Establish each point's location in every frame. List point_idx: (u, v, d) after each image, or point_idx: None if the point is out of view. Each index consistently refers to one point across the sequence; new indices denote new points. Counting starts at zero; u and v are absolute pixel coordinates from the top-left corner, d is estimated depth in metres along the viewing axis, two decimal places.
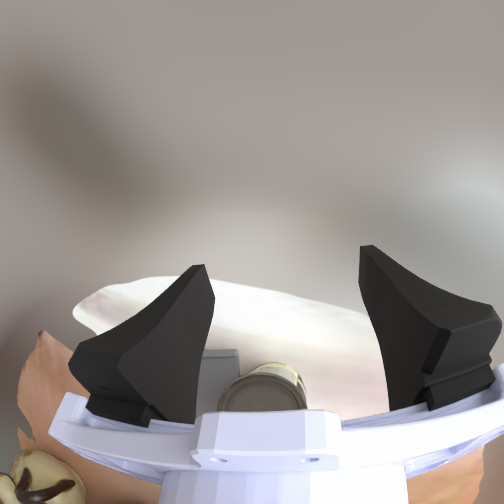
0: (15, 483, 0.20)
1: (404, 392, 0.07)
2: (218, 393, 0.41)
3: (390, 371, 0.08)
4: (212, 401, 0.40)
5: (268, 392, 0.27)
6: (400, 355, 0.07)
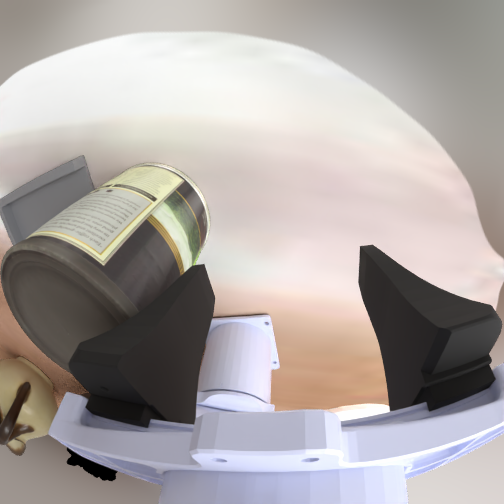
0: None
1: (404, 392, 0.07)
2: None
3: (390, 371, 0.08)
4: None
5: (50, 287, 0.10)
6: (400, 355, 0.07)
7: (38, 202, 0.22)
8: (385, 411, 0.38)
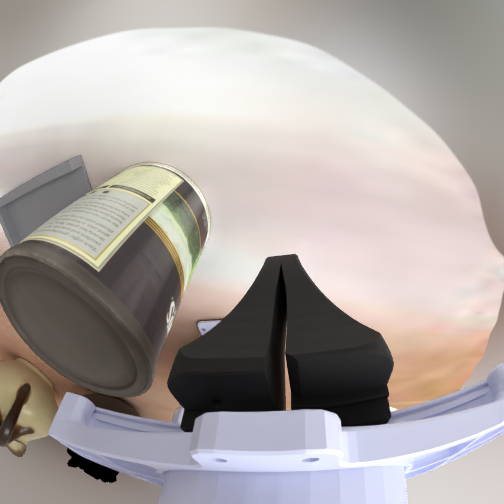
0: None
1: None
2: None
3: None
4: None
5: (45, 294, 0.09)
6: None
7: (35, 203, 0.22)
8: None
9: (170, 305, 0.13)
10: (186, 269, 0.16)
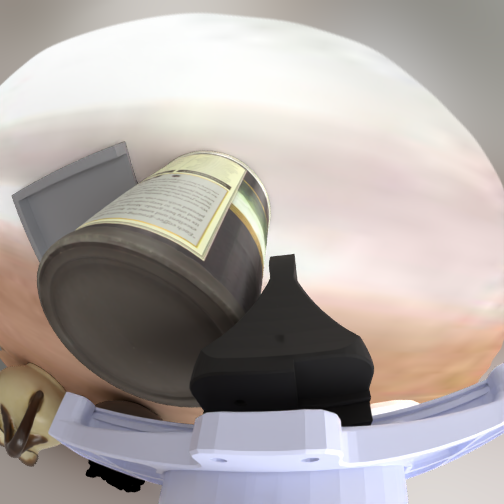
0: (3, 430, 0.26)
1: None
2: None
3: None
4: None
5: (119, 292, 0.09)
6: None
7: (64, 195, 0.22)
8: None
9: None
10: None
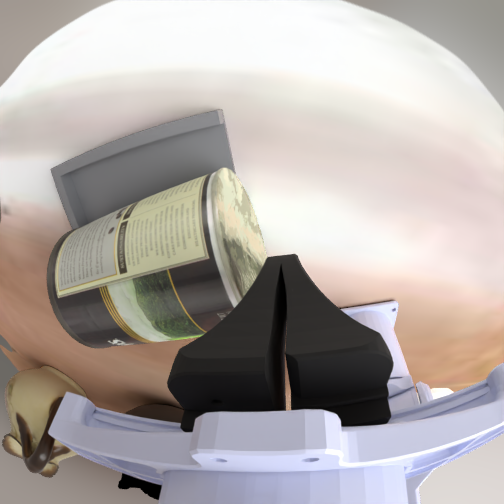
0: (20, 442, 0.24)
1: None
2: None
3: None
4: None
5: None
6: None
7: (127, 168, 0.20)
8: None
9: (112, 339, 0.16)
10: (149, 336, 0.15)
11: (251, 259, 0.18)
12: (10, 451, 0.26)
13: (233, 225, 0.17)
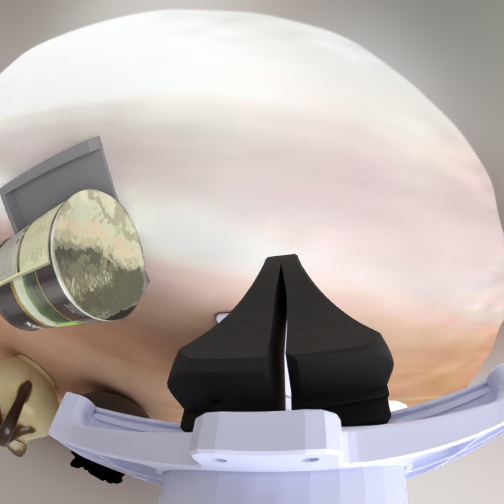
0: None
1: None
2: None
3: None
4: None
5: None
6: None
7: (45, 188, 0.21)
8: (397, 408, 0.37)
9: (26, 322, 0.17)
10: (42, 320, 0.17)
11: (111, 264, 0.19)
12: None
13: (94, 236, 0.18)
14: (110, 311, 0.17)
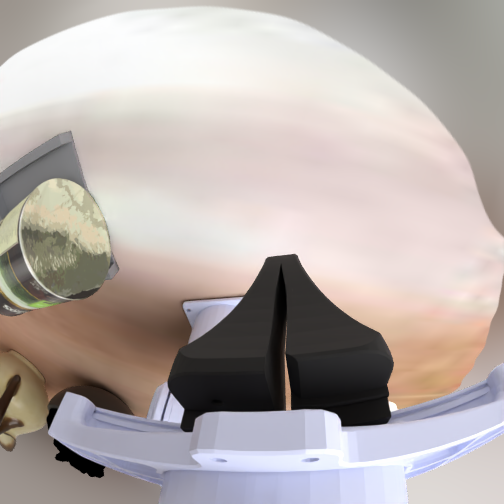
0: None
1: None
2: None
3: None
4: None
5: None
6: None
7: (26, 182, 0.21)
8: None
9: (3, 305, 0.17)
10: (15, 301, 0.17)
11: (76, 247, 0.19)
12: None
13: (62, 221, 0.18)
14: (71, 290, 0.17)
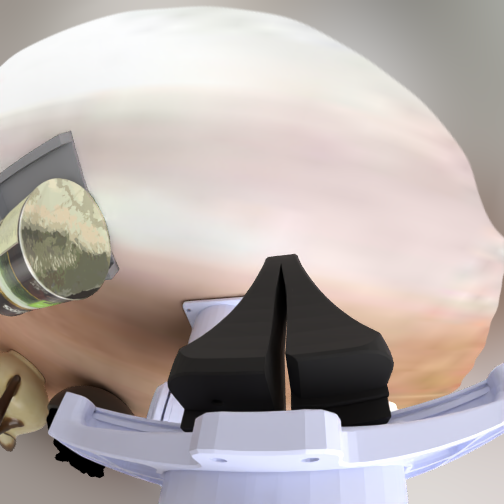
0: None
1: None
2: None
3: None
4: None
5: None
6: None
7: (26, 182, 0.21)
8: None
9: (3, 305, 0.17)
10: (15, 301, 0.17)
11: (76, 247, 0.19)
12: None
13: (62, 221, 0.18)
14: (71, 290, 0.17)
